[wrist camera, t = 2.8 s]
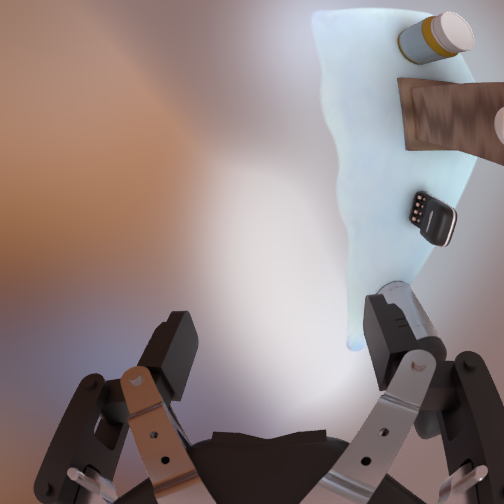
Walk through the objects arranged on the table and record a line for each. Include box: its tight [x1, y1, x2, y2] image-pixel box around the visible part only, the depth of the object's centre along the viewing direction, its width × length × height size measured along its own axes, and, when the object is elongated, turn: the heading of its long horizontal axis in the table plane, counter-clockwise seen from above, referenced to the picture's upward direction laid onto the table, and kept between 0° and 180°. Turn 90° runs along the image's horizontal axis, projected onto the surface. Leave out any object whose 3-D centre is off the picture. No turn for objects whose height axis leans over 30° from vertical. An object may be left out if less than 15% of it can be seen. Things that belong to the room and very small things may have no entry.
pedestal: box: [397, 78, 504, 166], centre depth 24 cm, size 13×13×32 cm
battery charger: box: [410, 192, 457, 247], centre depth 41 cm, size 7×4×11 cm, turn 175°
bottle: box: [399, 12, 475, 64], centre depth 26 cm, size 7×7×15 cm
